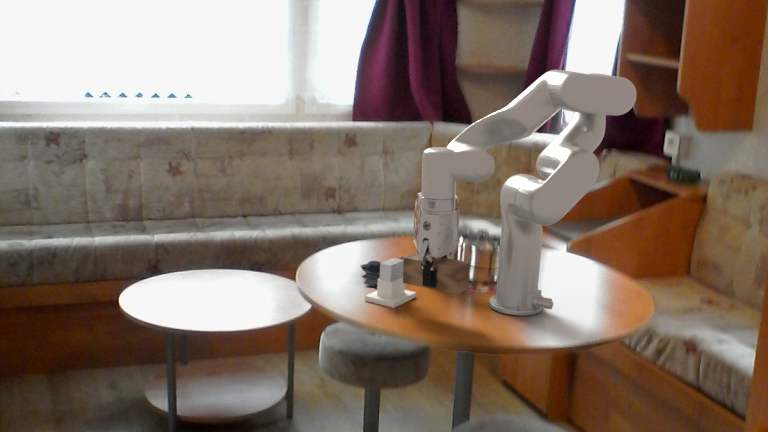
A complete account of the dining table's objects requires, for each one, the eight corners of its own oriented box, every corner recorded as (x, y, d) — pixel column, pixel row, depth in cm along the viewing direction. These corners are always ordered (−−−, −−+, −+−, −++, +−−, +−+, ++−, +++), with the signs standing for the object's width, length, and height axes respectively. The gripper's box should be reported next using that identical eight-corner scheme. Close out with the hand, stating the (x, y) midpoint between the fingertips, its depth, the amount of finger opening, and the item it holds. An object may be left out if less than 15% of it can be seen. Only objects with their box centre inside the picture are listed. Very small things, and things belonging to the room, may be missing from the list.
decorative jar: (416, 253, 247) (420, 191, 243) (411, 242, 258) (415, 182, 254) (458, 254, 248) (462, 192, 244) (451, 243, 260) (455, 184, 255)
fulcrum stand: (415, 297, 209) (417, 260, 207) (393, 307, 201) (395, 269, 199) (387, 290, 213) (389, 254, 211) (364, 300, 205) (366, 263, 203)
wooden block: (468, 288, 195) (469, 262, 193) (458, 294, 190) (459, 268, 189) (413, 277, 202) (414, 252, 200) (403, 283, 197) (403, 257, 196)
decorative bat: (370, 243, 239) (406, 249, 238) (368, 257, 240) (404, 263, 239) (350, 274, 210) (391, 281, 209) (348, 290, 211) (388, 297, 210)
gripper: (434, 214, 182) (431, 296, 187) (470, 199, 197) (467, 276, 201) (403, 209, 186) (401, 290, 191) (441, 194, 200) (439, 270, 205)
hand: (435, 282), depth 196 cm, fingers closed on wooden block, 5 cm apart
